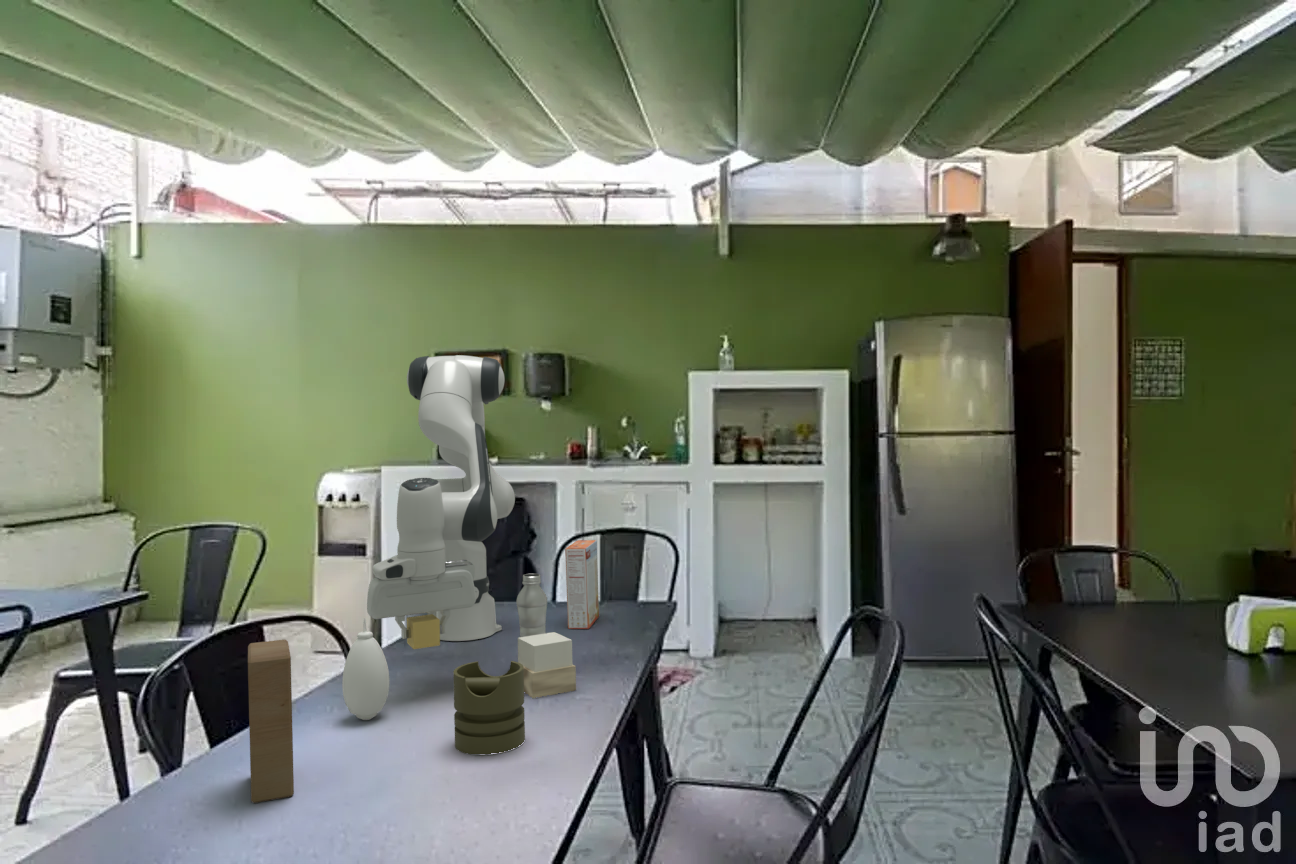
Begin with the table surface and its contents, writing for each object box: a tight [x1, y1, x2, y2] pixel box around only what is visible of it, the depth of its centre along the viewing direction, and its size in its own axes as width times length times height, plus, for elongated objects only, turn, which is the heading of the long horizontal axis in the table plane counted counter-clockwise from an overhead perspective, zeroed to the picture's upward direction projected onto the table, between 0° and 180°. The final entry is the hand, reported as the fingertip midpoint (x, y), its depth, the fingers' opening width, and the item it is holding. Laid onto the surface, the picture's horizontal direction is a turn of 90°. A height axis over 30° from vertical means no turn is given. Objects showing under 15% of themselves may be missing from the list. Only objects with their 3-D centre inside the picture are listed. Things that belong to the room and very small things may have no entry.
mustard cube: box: [406, 614, 441, 650], centre depth 167 cm, size 5×5×5 cm
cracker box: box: [564, 539, 600, 630], centre depth 226 cm, size 14×6×21 cm, turn 172°
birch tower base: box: [523, 663, 577, 699], centre depth 171 cm, size 9×9×5 cm
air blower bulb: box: [341, 617, 390, 721], centre depth 155 cm, size 8×8×18 cm
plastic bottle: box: [515, 573, 548, 637], centre depth 184 cm, size 6×7×20 cm
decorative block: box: [247, 639, 295, 804], centre depth 126 cm, size 11×6×20 cm, turn 23°
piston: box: [452, 660, 526, 755], centre depth 142 cm, size 11×12×11 cm
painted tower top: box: [517, 631, 573, 672], centre depth 171 cm, size 8×8×5 cm
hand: (423, 635), depth 167 cm, fingers closed on mustard cube, 5 cm apart
